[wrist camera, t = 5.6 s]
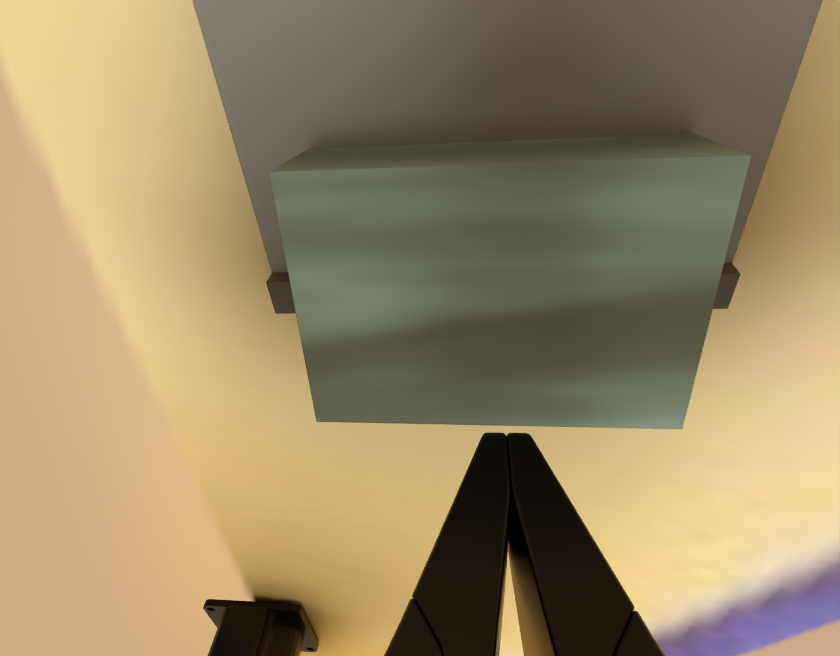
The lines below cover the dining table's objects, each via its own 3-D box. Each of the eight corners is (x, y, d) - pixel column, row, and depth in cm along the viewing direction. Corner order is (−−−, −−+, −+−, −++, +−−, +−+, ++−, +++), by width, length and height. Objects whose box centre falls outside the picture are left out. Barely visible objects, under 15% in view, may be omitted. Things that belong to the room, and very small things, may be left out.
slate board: (715, 290, 16) (727, 308, 15) (284, 296, 17) (275, 313, 17) (891, -235, 9) (930, -251, 8) (158, -147, 11) (133, -153, 10)
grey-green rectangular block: (682, 429, 13) (751, 155, 10) (316, 421, 14) (269, 172, 11) (648, 367, 16) (694, 133, 13) (340, 364, 17) (308, 149, 14)
